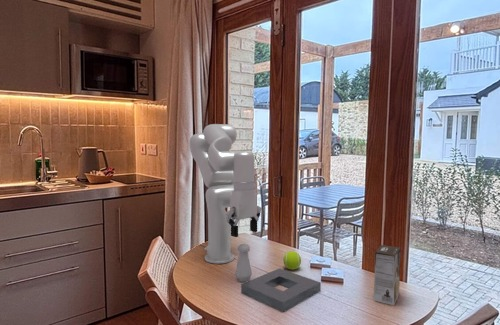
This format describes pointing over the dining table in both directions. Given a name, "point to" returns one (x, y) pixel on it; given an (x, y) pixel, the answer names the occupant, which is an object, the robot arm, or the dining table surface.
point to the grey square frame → (276, 298)
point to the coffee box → (387, 274)
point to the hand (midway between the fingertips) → (244, 233)
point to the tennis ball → (292, 260)
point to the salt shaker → (243, 264)
